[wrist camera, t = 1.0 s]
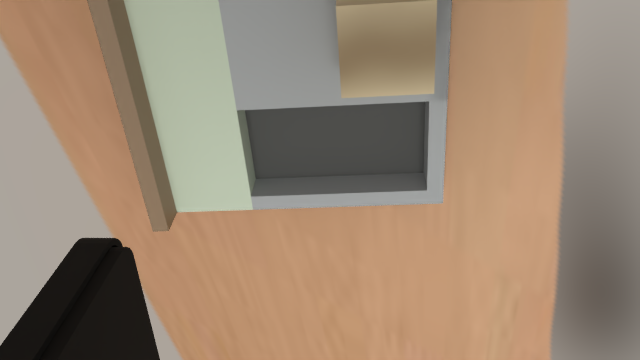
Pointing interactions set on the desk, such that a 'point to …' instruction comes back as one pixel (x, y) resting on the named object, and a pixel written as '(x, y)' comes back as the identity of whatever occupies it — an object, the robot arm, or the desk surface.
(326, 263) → the desk surface
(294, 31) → the board
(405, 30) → the maple block
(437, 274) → the desk surface
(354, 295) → the desk surface
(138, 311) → the robot arm
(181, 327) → the desk surface
